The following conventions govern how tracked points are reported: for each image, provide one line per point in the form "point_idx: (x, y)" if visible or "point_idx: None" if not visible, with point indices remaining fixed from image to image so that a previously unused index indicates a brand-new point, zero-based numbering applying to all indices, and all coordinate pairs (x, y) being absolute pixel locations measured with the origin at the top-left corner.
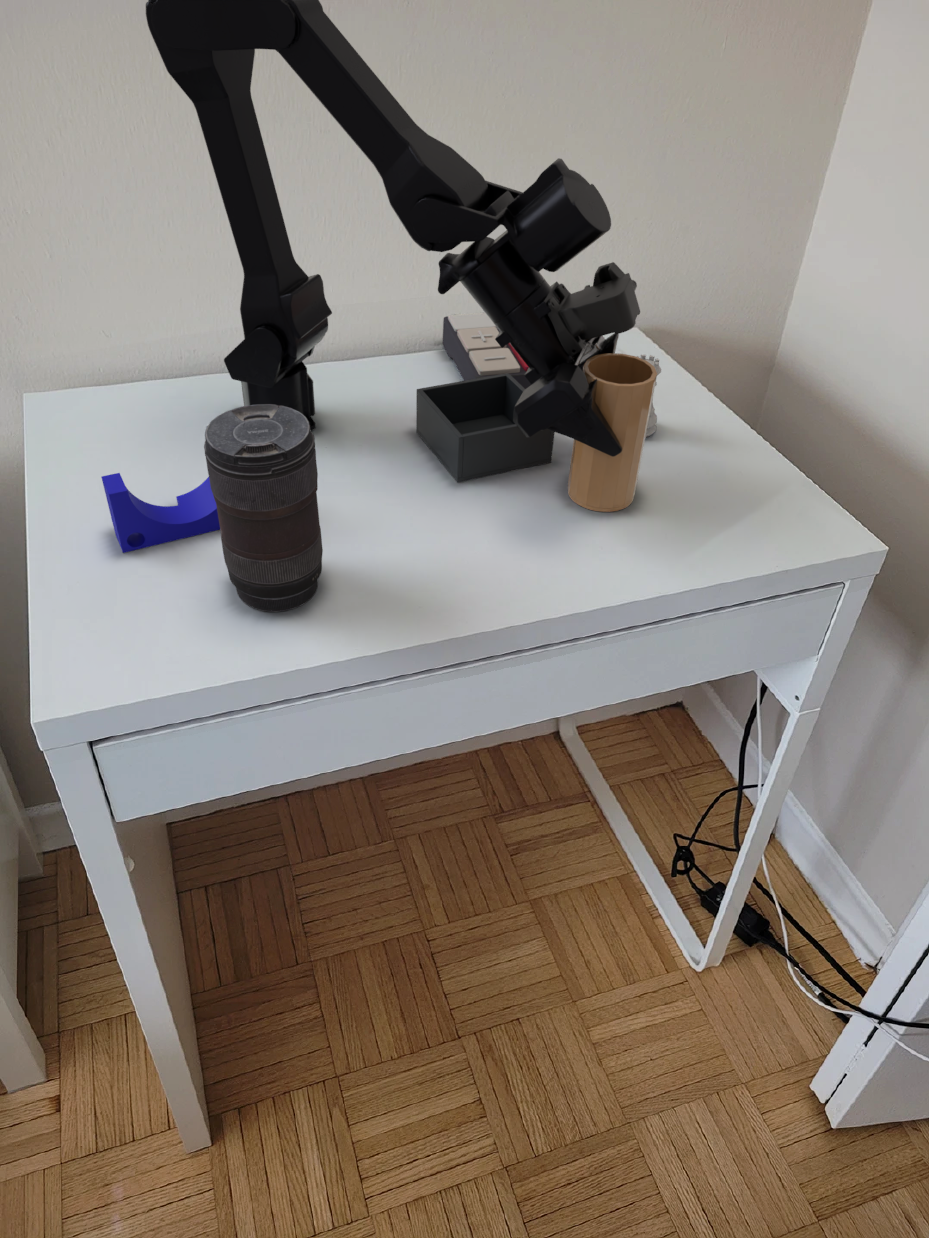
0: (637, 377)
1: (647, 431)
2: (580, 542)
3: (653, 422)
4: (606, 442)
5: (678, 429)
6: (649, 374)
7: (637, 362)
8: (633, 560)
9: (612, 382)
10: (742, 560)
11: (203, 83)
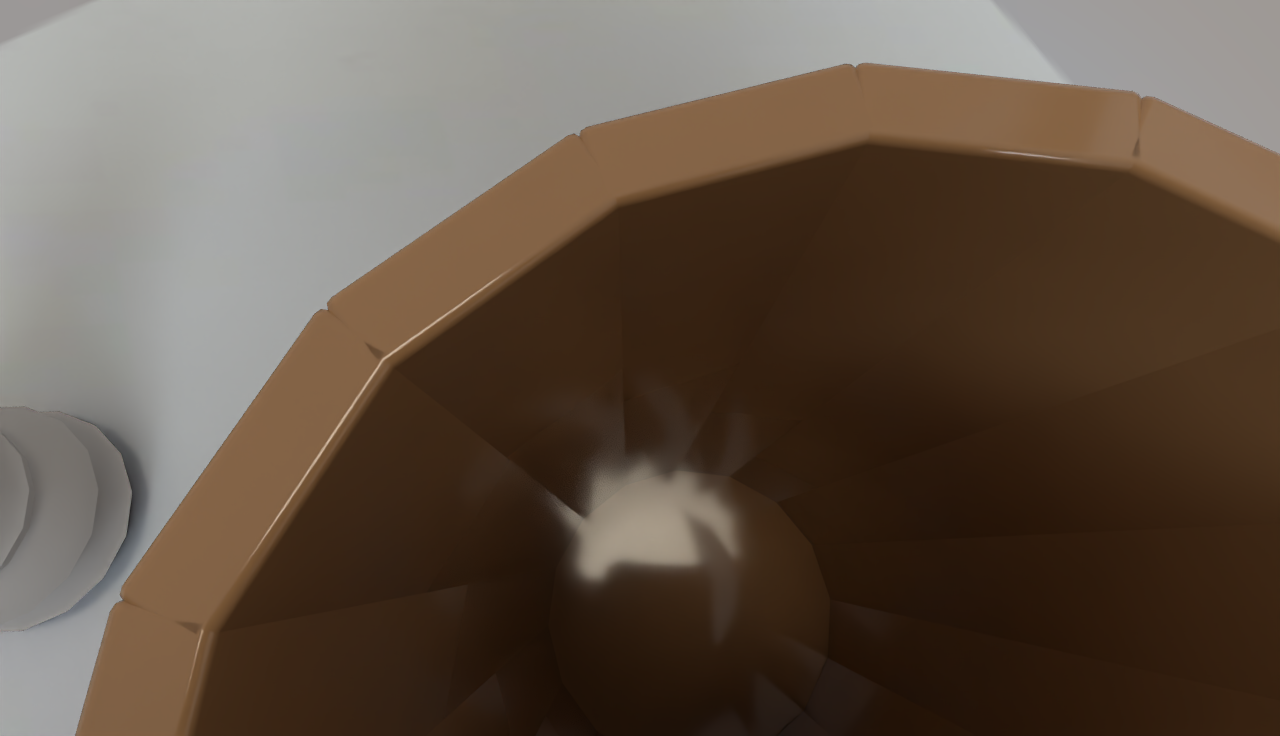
0: (441, 484)
1: (89, 449)
2: None
3: (39, 420)
4: None
5: (9, 313)
6: (642, 257)
7: (331, 509)
8: None
9: None
10: (950, 47)
11: None
